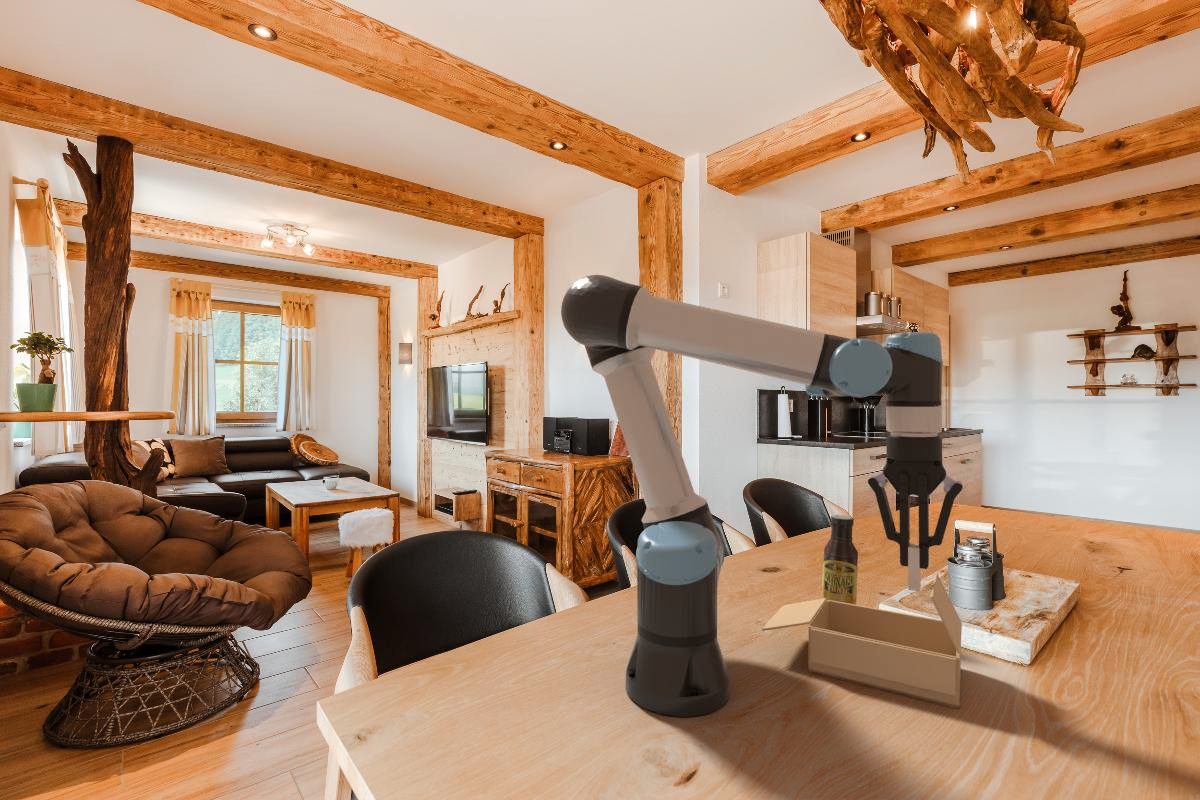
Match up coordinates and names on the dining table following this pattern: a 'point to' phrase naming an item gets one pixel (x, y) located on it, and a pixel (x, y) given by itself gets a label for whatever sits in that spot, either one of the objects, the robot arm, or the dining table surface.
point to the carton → (886, 651)
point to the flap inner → (795, 614)
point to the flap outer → (947, 612)
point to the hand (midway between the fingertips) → (914, 588)
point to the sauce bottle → (840, 562)
